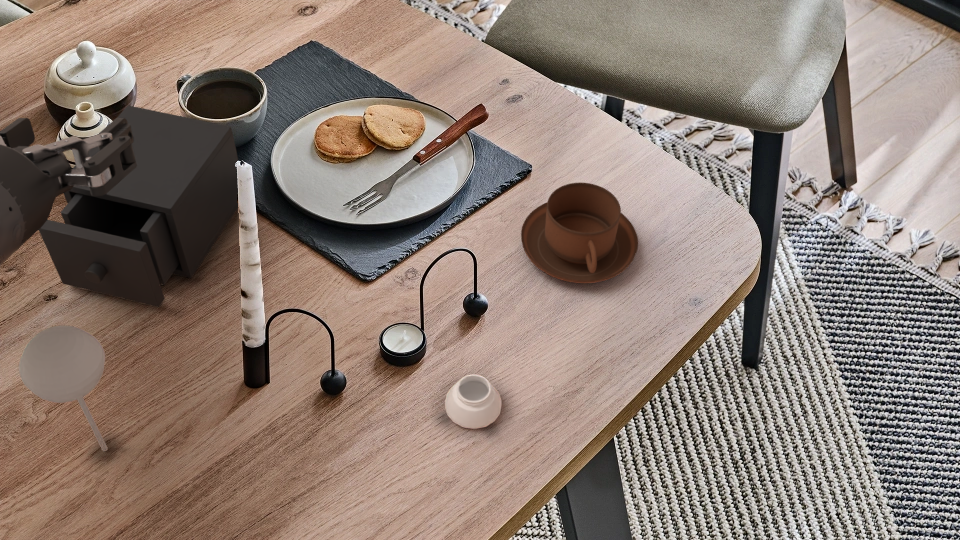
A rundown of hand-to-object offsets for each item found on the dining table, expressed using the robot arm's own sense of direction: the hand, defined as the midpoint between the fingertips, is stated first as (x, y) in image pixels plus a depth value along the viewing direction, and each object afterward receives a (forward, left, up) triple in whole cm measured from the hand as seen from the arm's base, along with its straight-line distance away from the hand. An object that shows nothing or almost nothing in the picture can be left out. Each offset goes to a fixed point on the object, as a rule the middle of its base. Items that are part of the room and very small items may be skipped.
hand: (76, 128), depth 79 cm
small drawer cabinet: (-1, +9, -19) cm, 21 cm away
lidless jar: (+36, -4, -20) cm, 42 cm away
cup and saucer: (+41, +18, -20) cm, 49 cm away
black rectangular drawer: (-1, +2, -19) cm, 19 cm away
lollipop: (+7, -18, -20) cm, 27 cm away
